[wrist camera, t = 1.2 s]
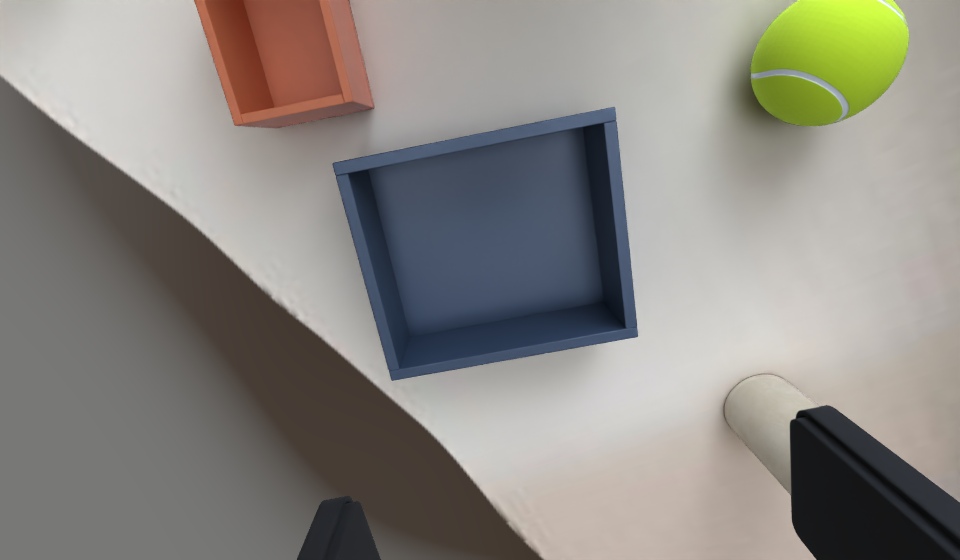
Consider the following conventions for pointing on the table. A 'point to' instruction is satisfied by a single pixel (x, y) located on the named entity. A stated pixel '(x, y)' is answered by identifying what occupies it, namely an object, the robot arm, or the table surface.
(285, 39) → the small tote
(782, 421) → the candle
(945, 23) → the table surface
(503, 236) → the big tote
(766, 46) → the tennis ball
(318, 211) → the table surface
